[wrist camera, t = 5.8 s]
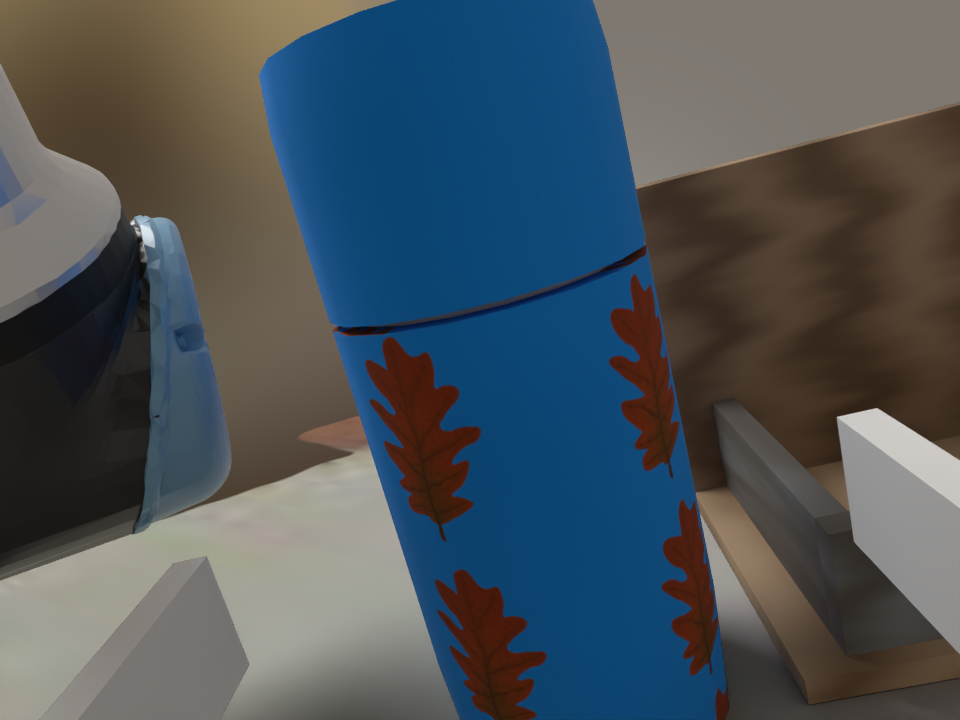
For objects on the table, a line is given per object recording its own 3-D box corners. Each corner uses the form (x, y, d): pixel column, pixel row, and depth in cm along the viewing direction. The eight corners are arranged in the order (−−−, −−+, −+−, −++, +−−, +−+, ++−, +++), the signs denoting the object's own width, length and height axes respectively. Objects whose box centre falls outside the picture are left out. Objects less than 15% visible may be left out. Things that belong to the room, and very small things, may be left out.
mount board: (809, 704, 25) (725, 201, 20) (688, 492, 41) (628, 188, 37) (1396, 598, 23) (1443, 18, 19) (1025, 420, 39) (1003, 90, 35)
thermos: (678, 864, 21) (461, -51, 15) (409, 762, 27) (180, 96, 21) (763, 629, 29) (648, -15, 23) (542, 593, 35) (406, 82, 29)
